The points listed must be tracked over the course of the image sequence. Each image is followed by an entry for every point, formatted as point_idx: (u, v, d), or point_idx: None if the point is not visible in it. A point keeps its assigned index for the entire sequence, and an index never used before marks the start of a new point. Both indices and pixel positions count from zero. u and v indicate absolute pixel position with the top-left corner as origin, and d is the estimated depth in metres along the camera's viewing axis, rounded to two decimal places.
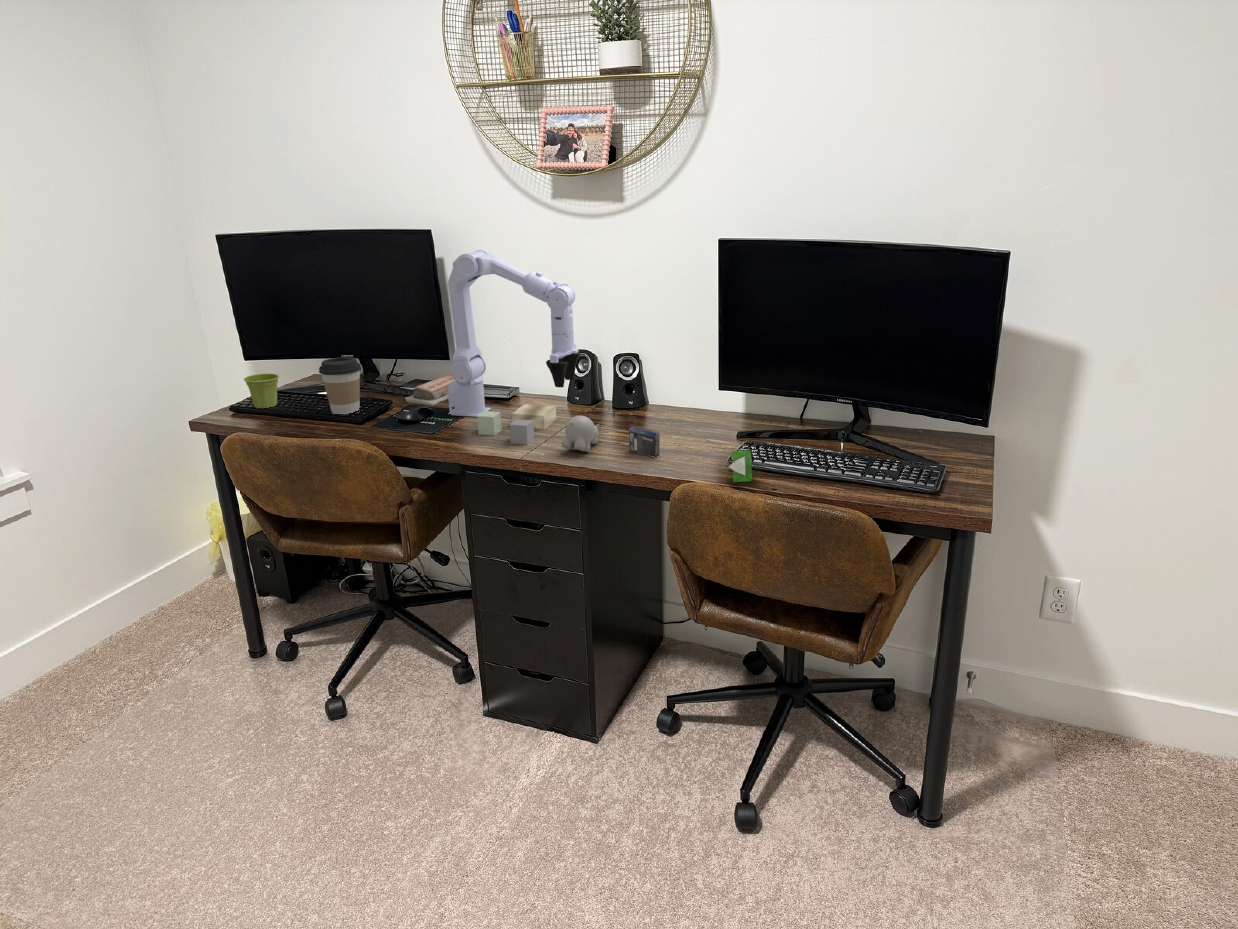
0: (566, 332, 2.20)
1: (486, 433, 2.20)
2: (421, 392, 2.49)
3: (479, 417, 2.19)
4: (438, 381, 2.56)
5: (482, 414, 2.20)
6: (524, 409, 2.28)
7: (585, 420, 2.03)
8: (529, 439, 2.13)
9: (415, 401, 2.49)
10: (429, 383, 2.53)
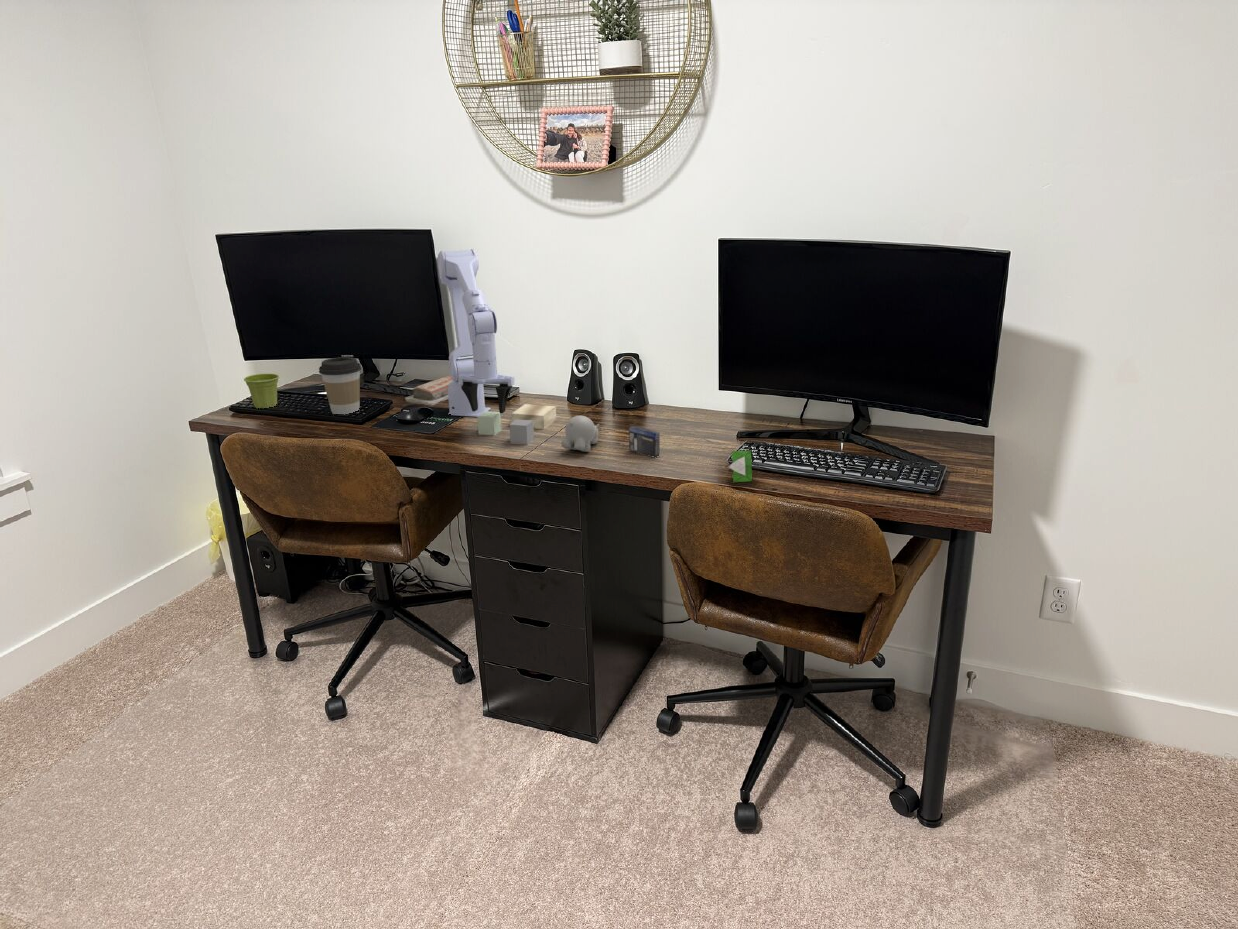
0: (478, 359, 2.13)
1: (486, 433, 2.20)
2: (420, 392, 2.49)
3: (479, 417, 2.19)
4: (439, 381, 2.55)
5: (482, 414, 2.20)
6: (524, 409, 2.28)
7: (585, 420, 2.03)
8: (529, 439, 2.13)
9: (415, 401, 2.49)
10: (429, 383, 2.53)
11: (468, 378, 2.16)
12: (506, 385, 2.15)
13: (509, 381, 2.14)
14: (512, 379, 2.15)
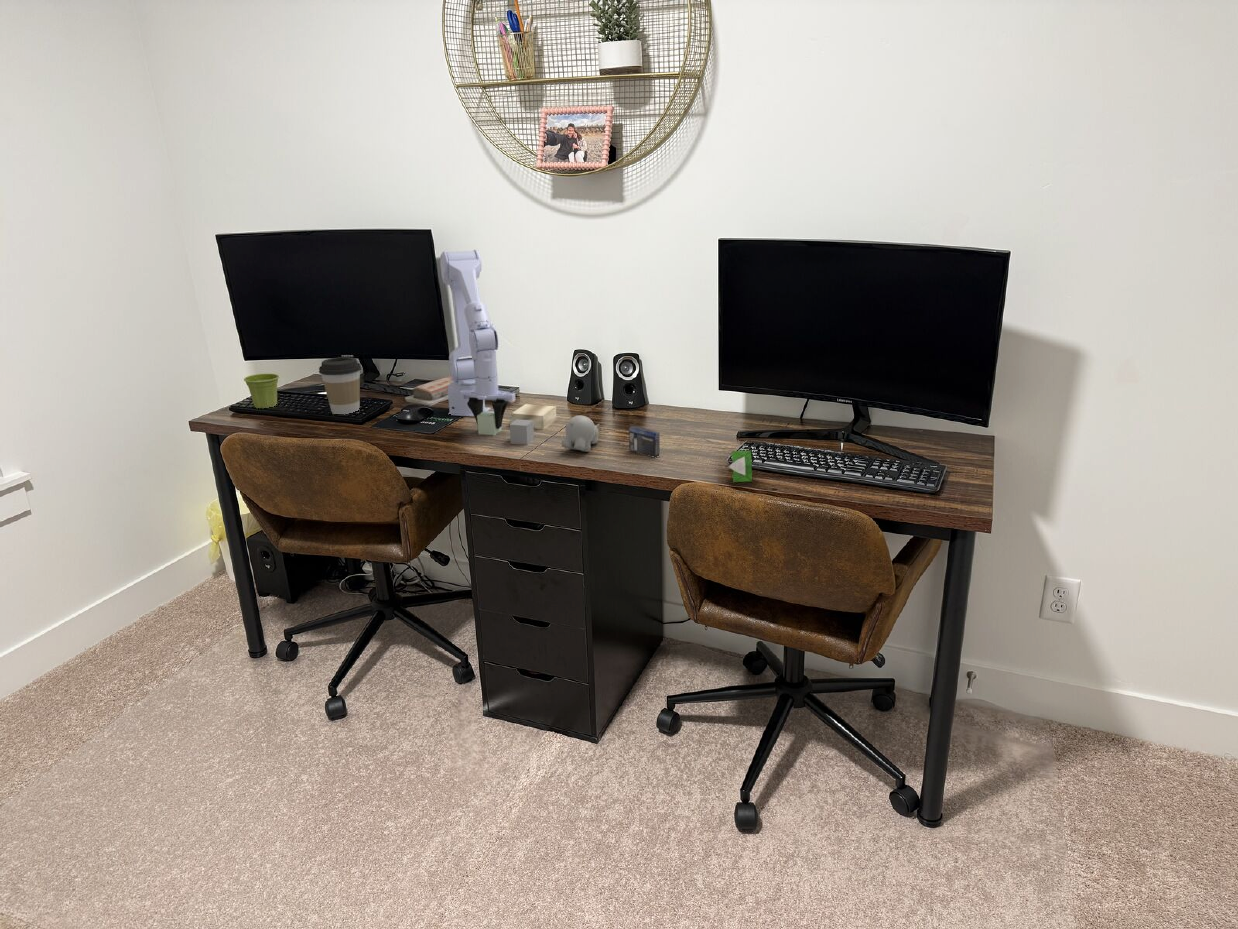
0: (479, 376, 2.14)
1: (486, 433, 2.20)
2: (420, 392, 2.49)
3: (479, 417, 2.19)
4: (440, 381, 2.55)
5: (482, 414, 2.20)
6: (524, 409, 2.28)
7: (585, 420, 2.03)
8: (529, 439, 2.13)
9: (414, 401, 2.49)
10: (430, 383, 2.53)
11: (469, 394, 2.18)
12: (502, 401, 2.17)
13: (510, 397, 2.16)
14: (513, 395, 2.16)
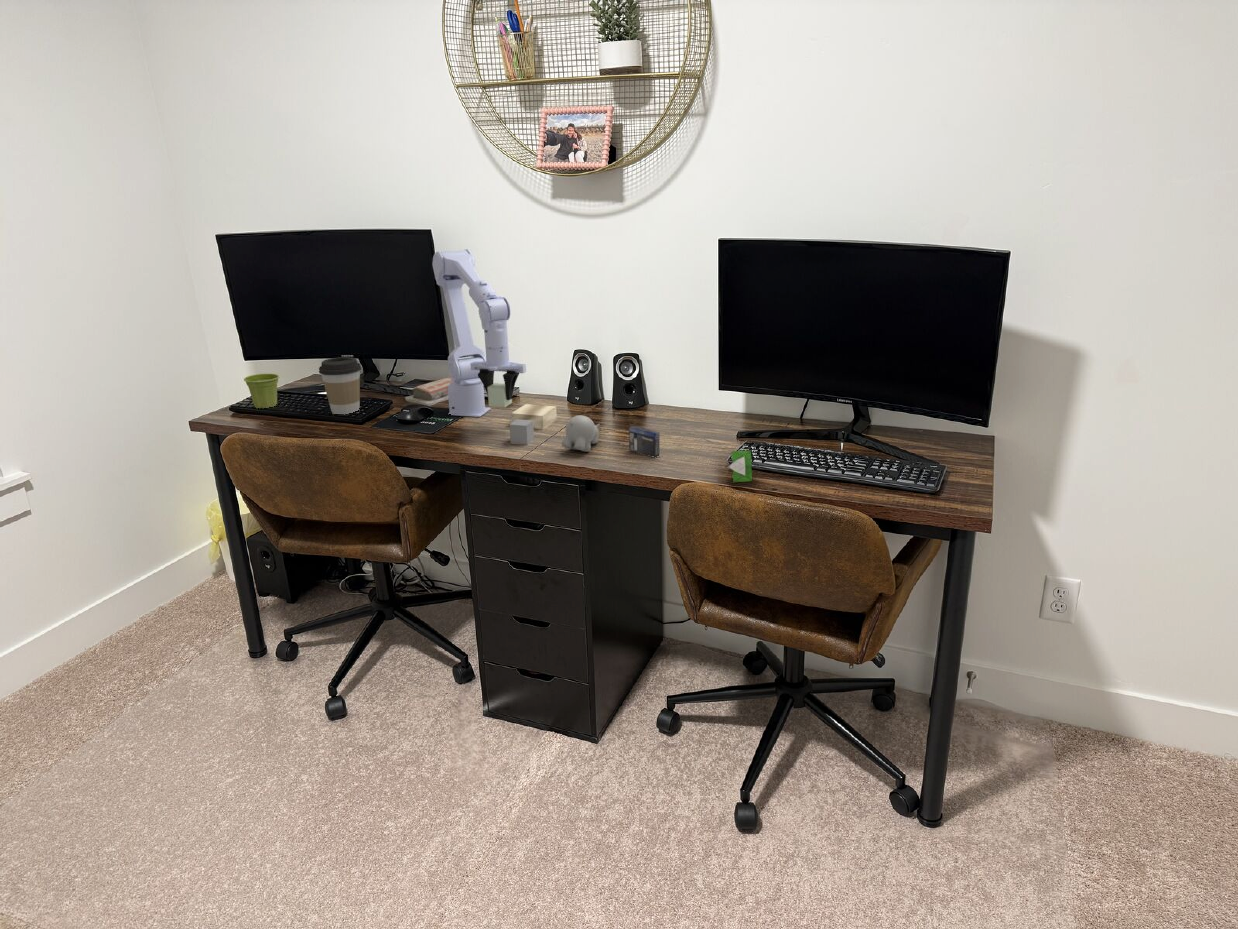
0: (492, 346, 2.13)
1: (496, 405, 2.19)
2: (420, 392, 2.49)
3: (489, 388, 2.18)
4: (440, 382, 2.55)
5: (492, 386, 2.19)
6: (524, 409, 2.28)
7: (585, 420, 2.03)
8: (529, 439, 2.13)
9: (414, 401, 2.49)
10: (430, 383, 2.53)
11: (480, 365, 2.17)
12: (513, 372, 2.16)
13: (521, 368, 2.15)
14: (524, 366, 2.16)
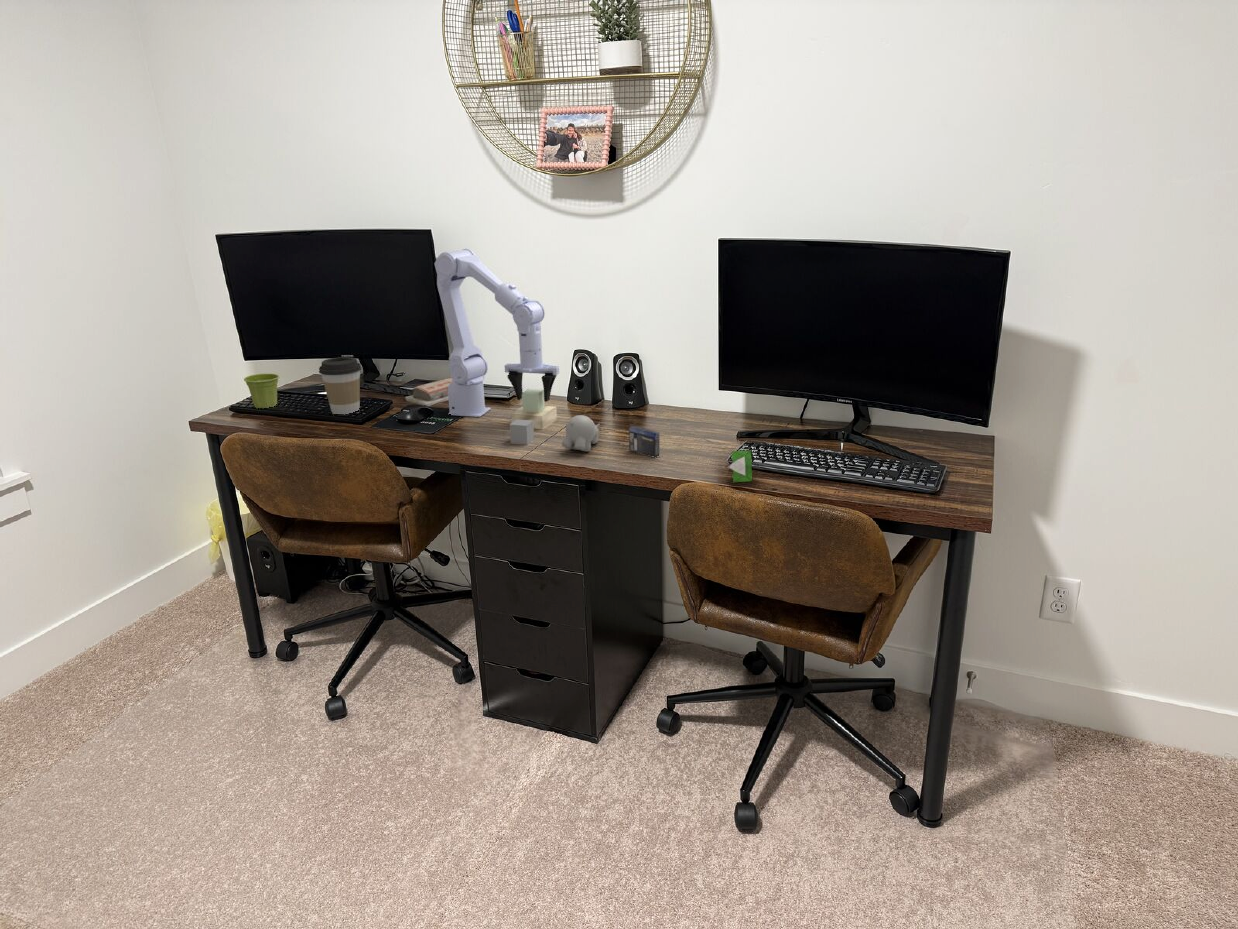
0: (531, 349, 2.19)
1: (530, 410, 2.25)
2: (419, 392, 2.49)
3: (523, 395, 2.24)
4: (441, 382, 2.55)
5: (526, 392, 2.25)
6: None
7: (585, 420, 2.03)
8: (529, 439, 2.13)
9: (413, 401, 2.49)
10: (431, 383, 2.53)
11: (514, 367, 2.23)
12: (551, 374, 2.22)
13: (554, 370, 2.21)
14: (557, 368, 2.21)
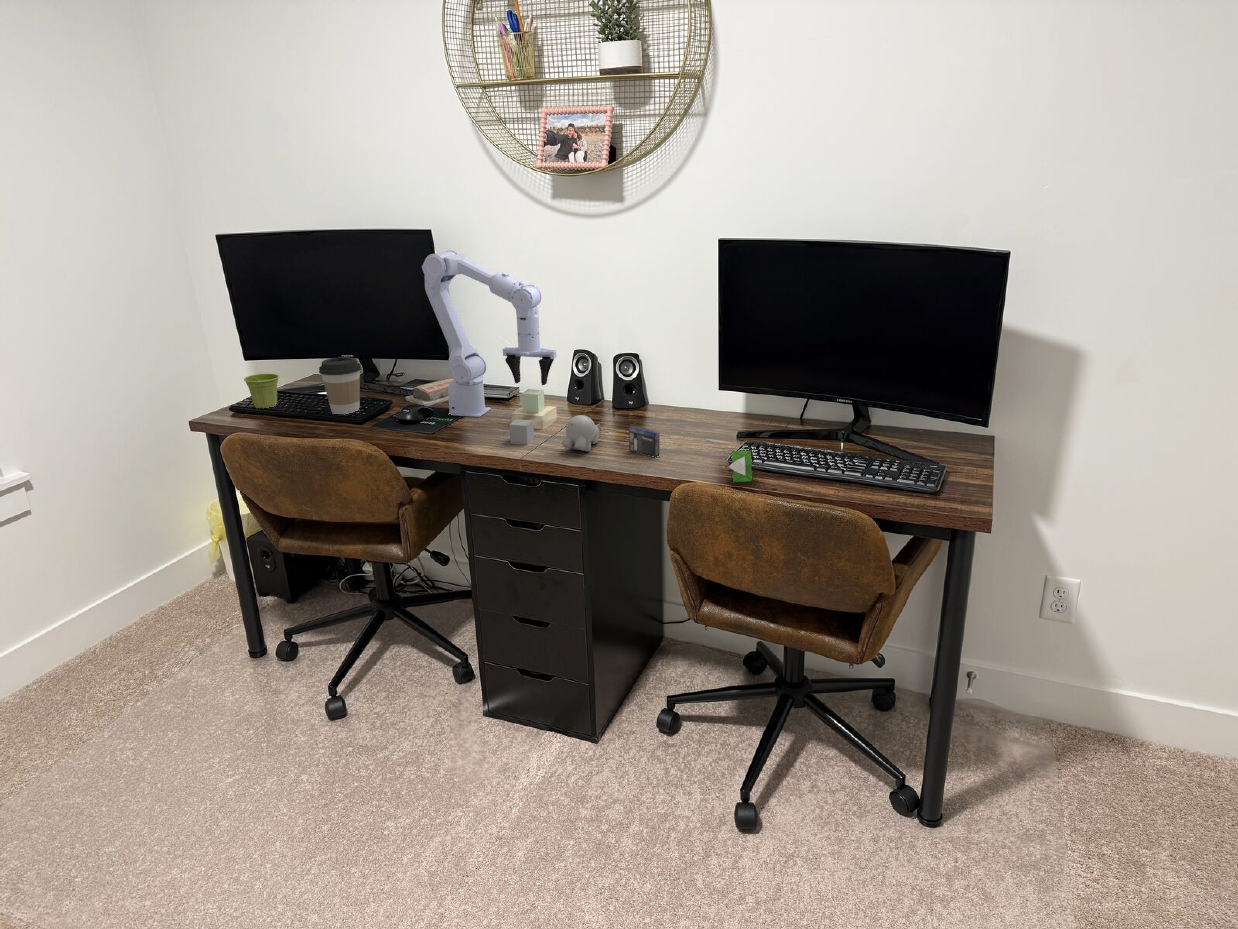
0: (531, 332, 2.22)
1: (530, 410, 2.25)
2: (419, 392, 2.49)
3: (524, 395, 2.24)
4: (442, 382, 2.54)
5: (526, 392, 2.25)
6: None
7: (585, 419, 2.03)
8: (529, 439, 2.13)
9: (413, 401, 2.49)
10: (431, 384, 2.52)
11: (512, 351, 2.26)
12: (548, 358, 2.24)
13: (551, 354, 2.23)
14: (554, 352, 2.24)
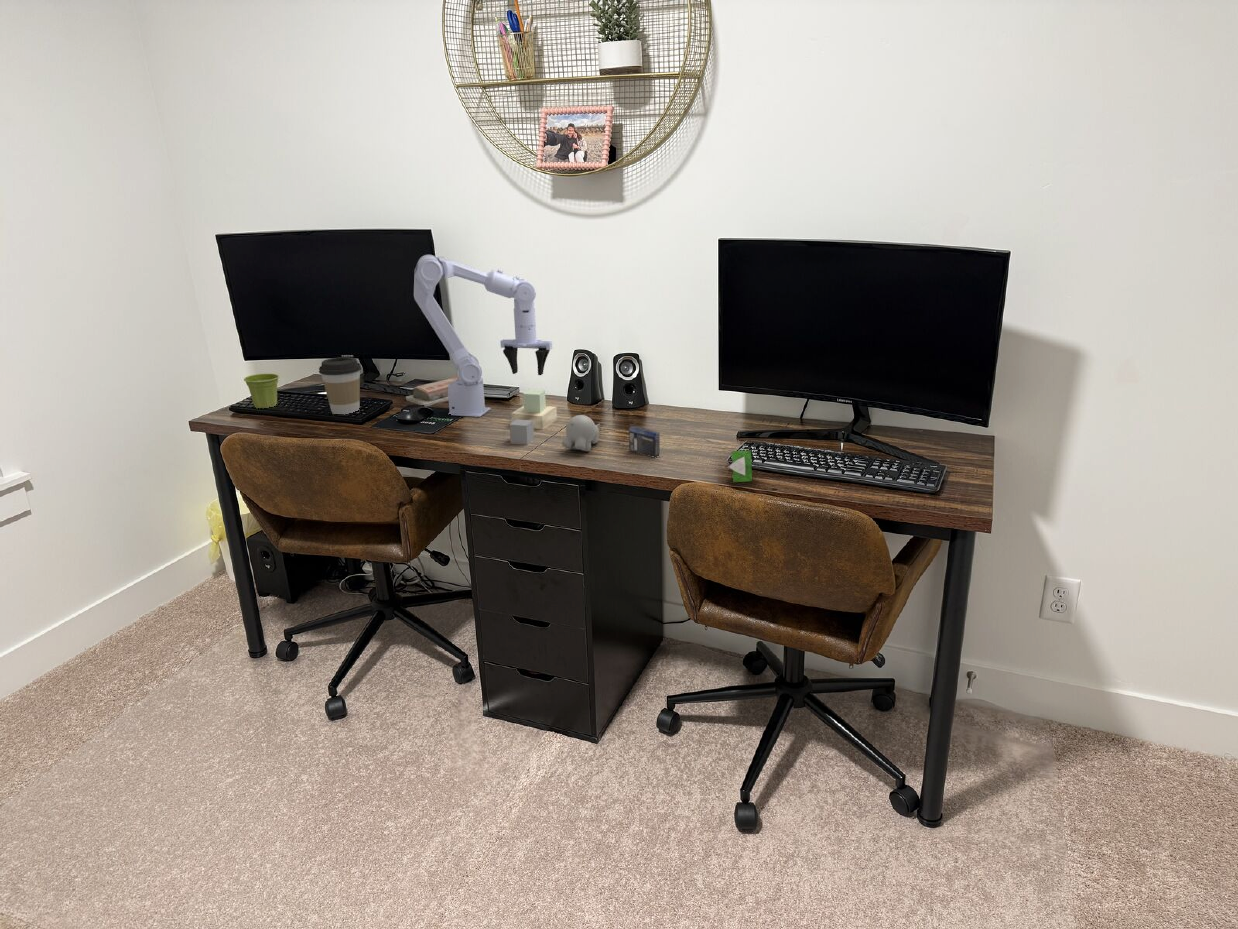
0: (533, 324, 2.32)
1: (532, 411, 2.25)
2: (419, 392, 2.49)
3: (525, 395, 2.24)
4: (442, 382, 2.54)
5: (528, 392, 2.25)
6: None
7: (586, 419, 2.03)
8: (529, 439, 2.13)
9: (413, 401, 2.49)
10: (432, 384, 2.52)
11: (509, 342, 2.35)
12: (545, 349, 2.34)
13: (547, 345, 2.33)
14: (550, 343, 2.34)
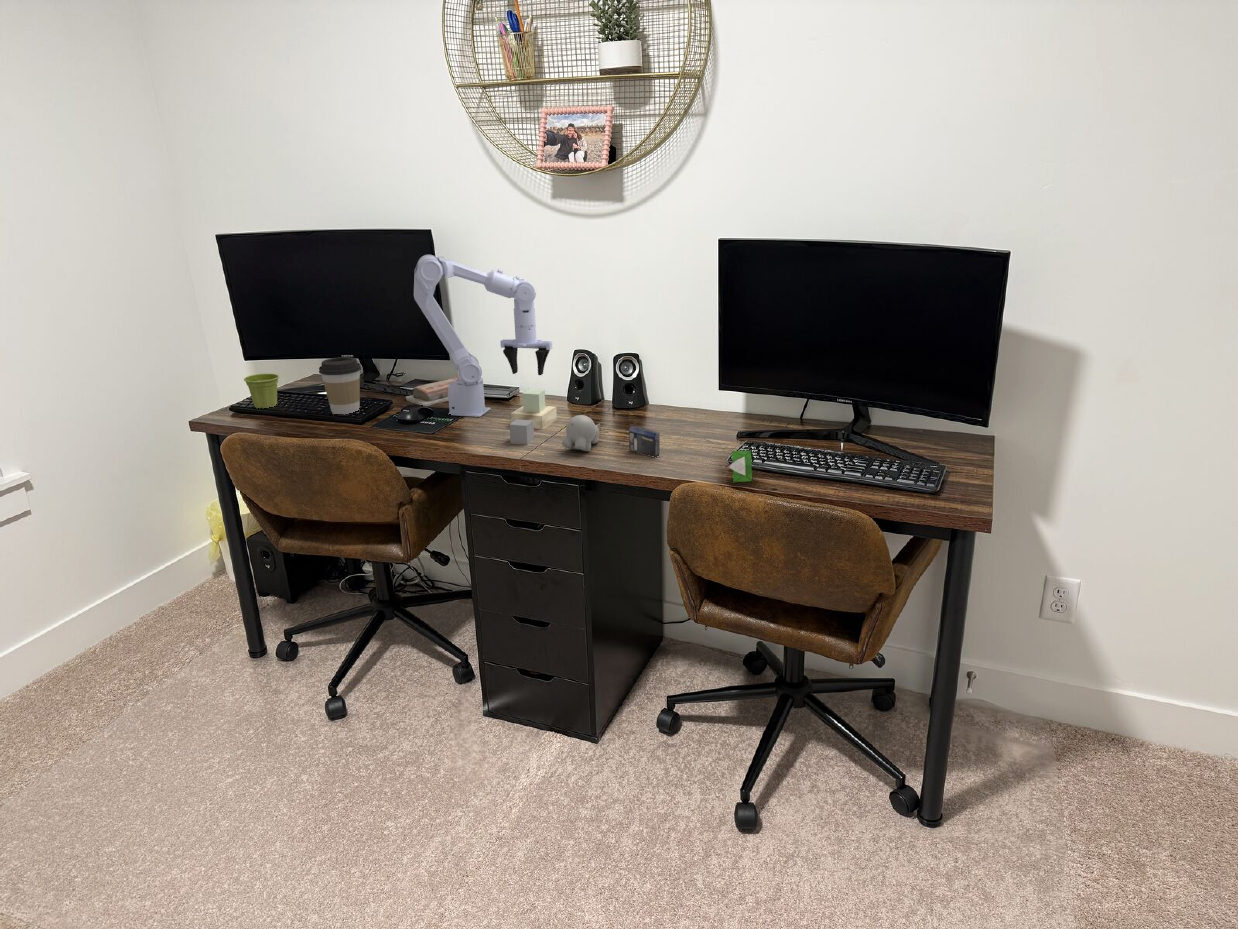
0: (533, 324, 2.32)
1: (531, 410, 2.25)
2: (418, 392, 2.49)
3: (524, 394, 2.24)
4: (443, 382, 2.54)
5: (527, 392, 2.25)
6: None
7: (586, 419, 2.03)
8: (529, 439, 2.13)
9: (412, 401, 2.49)
10: (432, 384, 2.52)
11: (509, 342, 2.35)
12: (545, 349, 2.34)
13: (547, 345, 2.33)
14: (550, 343, 2.34)
